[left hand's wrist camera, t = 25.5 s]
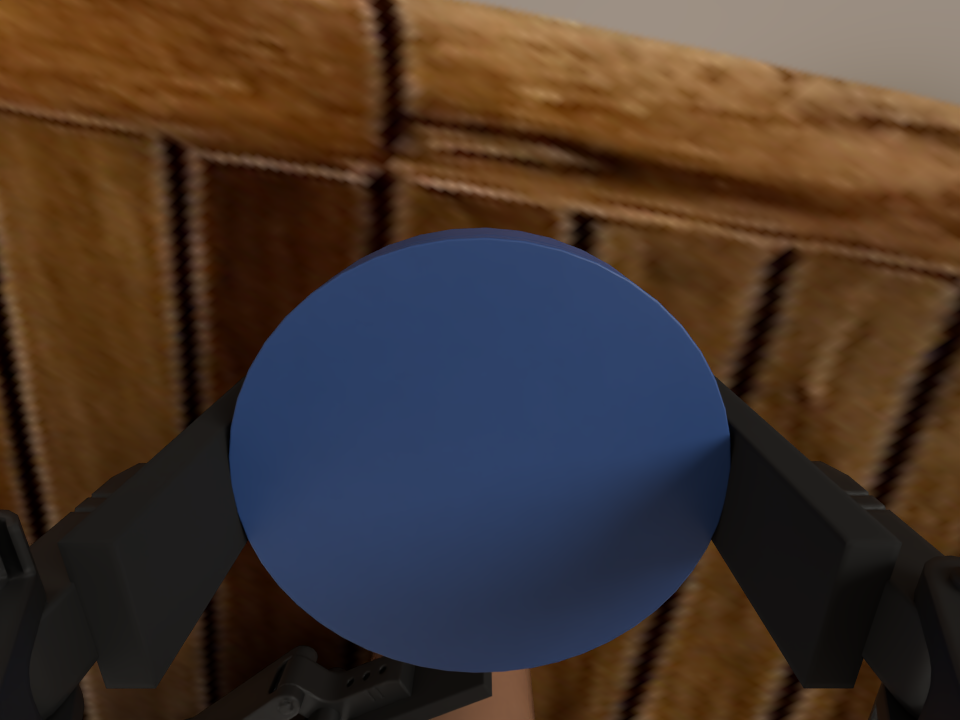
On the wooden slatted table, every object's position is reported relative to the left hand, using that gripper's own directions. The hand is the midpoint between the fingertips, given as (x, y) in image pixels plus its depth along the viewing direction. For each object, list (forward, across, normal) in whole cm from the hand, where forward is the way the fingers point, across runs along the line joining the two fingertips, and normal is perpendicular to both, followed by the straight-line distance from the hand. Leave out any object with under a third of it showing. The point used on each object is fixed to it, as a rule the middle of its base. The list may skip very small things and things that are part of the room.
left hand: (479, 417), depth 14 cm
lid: (-3, 0, 0) cm, 3 cm away
